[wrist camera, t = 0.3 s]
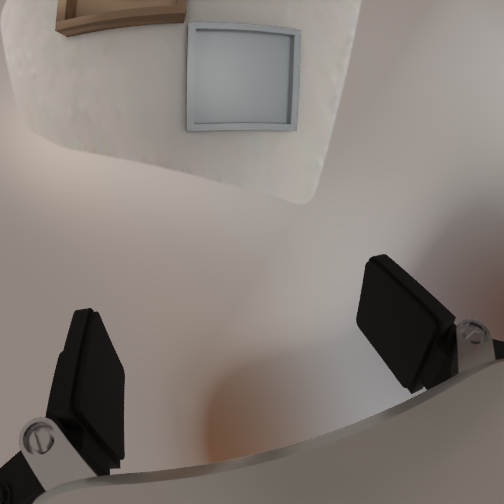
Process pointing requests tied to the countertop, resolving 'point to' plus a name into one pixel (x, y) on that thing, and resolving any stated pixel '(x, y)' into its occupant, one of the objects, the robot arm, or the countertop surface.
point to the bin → (115, 14)
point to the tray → (242, 77)
